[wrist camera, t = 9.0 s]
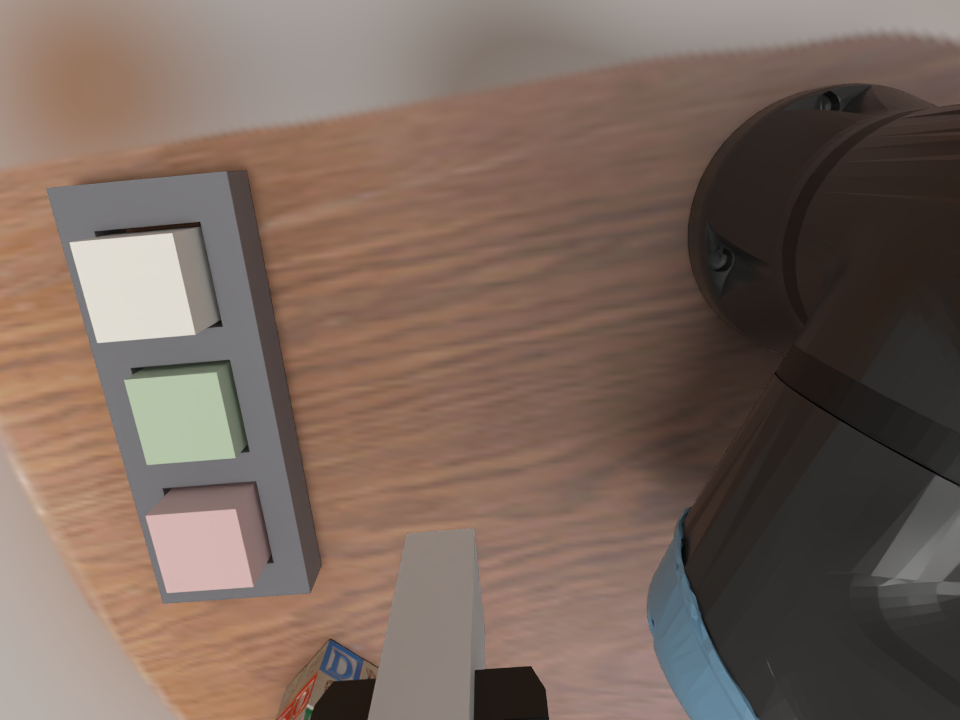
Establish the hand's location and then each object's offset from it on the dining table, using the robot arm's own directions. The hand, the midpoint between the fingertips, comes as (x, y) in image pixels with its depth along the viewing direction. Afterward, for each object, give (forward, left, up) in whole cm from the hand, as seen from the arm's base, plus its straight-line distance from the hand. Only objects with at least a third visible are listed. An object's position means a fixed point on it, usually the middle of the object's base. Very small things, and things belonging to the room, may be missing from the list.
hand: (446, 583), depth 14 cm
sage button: (+13, -12, -26) cm, 31 cm away
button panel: (+13, -12, -26) cm, 32 cm away
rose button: (+19, -7, -25) cm, 32 cm away
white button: (+6, -17, -25) cm, 30 cm away
